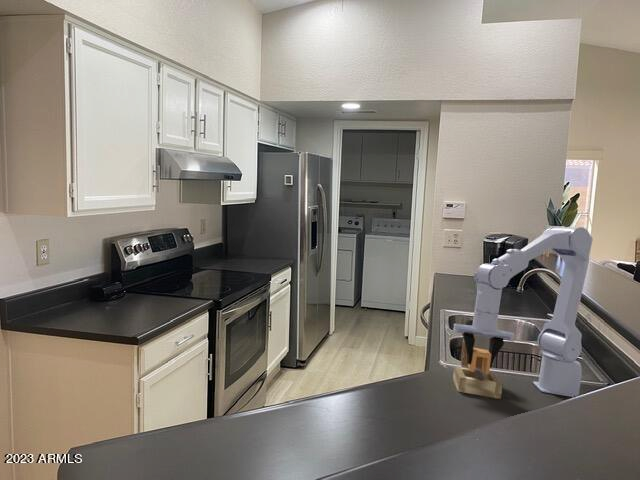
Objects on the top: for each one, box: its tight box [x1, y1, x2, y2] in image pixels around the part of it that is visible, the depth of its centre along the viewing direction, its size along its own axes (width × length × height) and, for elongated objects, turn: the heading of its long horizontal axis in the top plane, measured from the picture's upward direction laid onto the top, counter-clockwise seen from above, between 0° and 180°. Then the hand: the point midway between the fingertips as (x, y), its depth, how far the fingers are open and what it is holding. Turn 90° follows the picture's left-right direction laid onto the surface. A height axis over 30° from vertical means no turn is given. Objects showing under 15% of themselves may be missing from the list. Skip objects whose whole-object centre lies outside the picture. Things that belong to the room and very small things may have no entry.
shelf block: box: [452, 366, 504, 399], centre depth 119 cm, size 10×10×5 cm
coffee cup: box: [460, 319, 490, 371], centre depth 129 cm, size 8×8×15 cm
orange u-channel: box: [468, 348, 491, 375], centre depth 119 cm, size 4×5×5 cm
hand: (478, 364), depth 119 cm, fingers closed on orange u-channel, 4 cm apart
